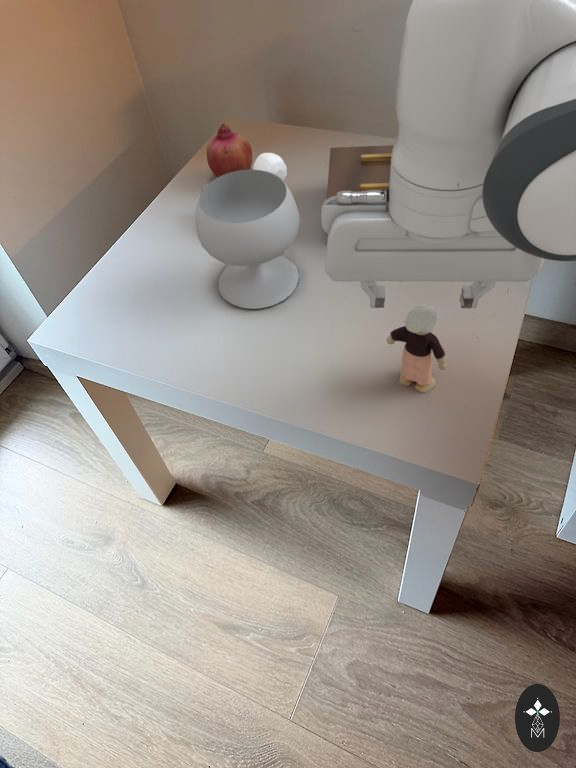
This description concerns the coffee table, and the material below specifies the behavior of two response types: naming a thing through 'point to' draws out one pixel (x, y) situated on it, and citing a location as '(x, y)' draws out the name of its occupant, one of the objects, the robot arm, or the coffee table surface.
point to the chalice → (250, 236)
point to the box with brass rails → (359, 169)
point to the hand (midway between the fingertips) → (421, 303)
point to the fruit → (228, 152)
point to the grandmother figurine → (419, 348)
